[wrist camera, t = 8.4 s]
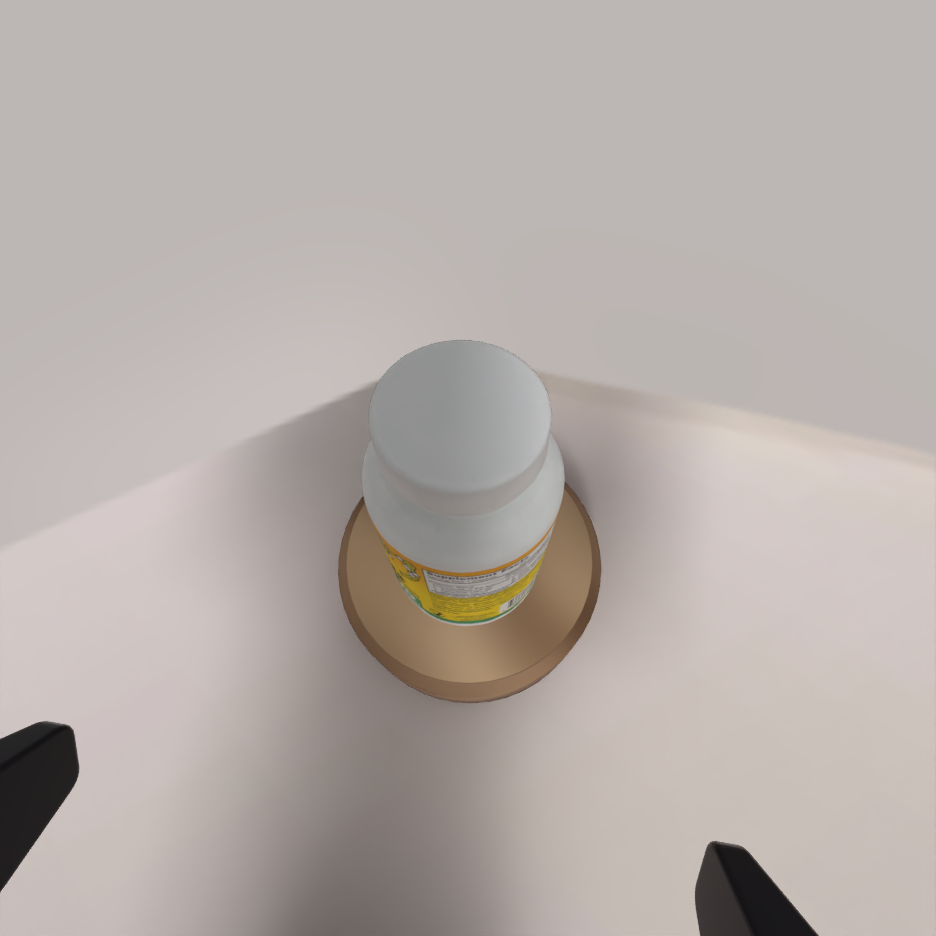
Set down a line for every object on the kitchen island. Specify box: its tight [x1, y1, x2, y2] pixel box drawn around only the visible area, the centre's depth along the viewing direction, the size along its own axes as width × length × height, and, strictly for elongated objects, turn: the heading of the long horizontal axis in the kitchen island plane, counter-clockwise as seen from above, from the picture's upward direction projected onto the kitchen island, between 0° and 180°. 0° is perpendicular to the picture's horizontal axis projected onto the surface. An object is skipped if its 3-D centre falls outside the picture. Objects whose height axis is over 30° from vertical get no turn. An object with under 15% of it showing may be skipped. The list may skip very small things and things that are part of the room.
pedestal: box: [338, 482, 601, 703], centre depth 21 cm, size 10×10×3 cm
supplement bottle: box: [362, 340, 565, 626], centre depth 16 cm, size 5×5×10 cm
